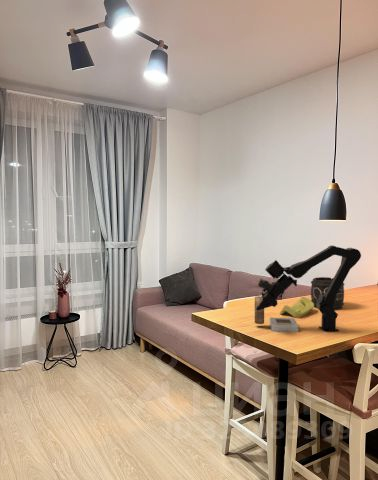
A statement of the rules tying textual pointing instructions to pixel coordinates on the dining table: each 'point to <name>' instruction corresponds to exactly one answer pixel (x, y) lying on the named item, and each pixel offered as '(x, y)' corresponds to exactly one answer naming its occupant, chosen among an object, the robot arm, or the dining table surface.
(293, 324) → the hole plate
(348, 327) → the dining table surface
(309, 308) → the plastic component
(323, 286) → the patterned black pot
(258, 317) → the walnut peg
